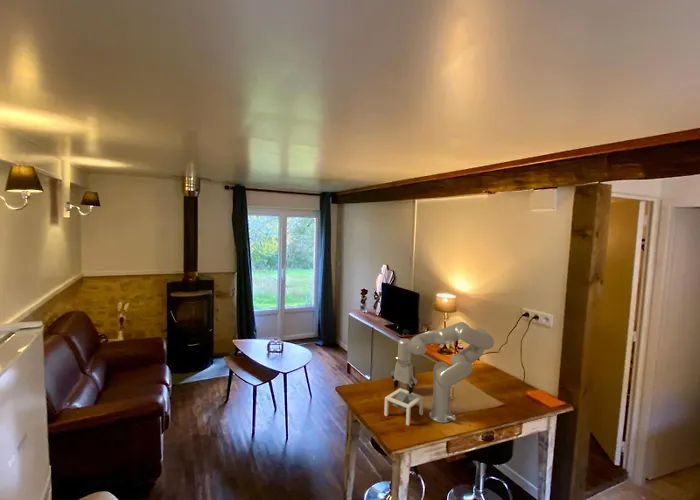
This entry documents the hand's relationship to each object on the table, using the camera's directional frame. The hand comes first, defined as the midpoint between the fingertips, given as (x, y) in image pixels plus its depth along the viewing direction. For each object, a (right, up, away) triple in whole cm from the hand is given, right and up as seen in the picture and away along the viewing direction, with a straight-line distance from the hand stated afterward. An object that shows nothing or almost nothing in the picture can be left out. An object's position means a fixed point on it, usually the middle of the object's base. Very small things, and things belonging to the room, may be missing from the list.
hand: (403, 390), depth 211 cm
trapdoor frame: (+1, -15, +2) cm, 15 cm away
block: (+6, -13, +29) cm, 32 cm away
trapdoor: (+1, -7, +2) cm, 8 cm away
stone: (0, -8, +1) cm, 8 cm away
